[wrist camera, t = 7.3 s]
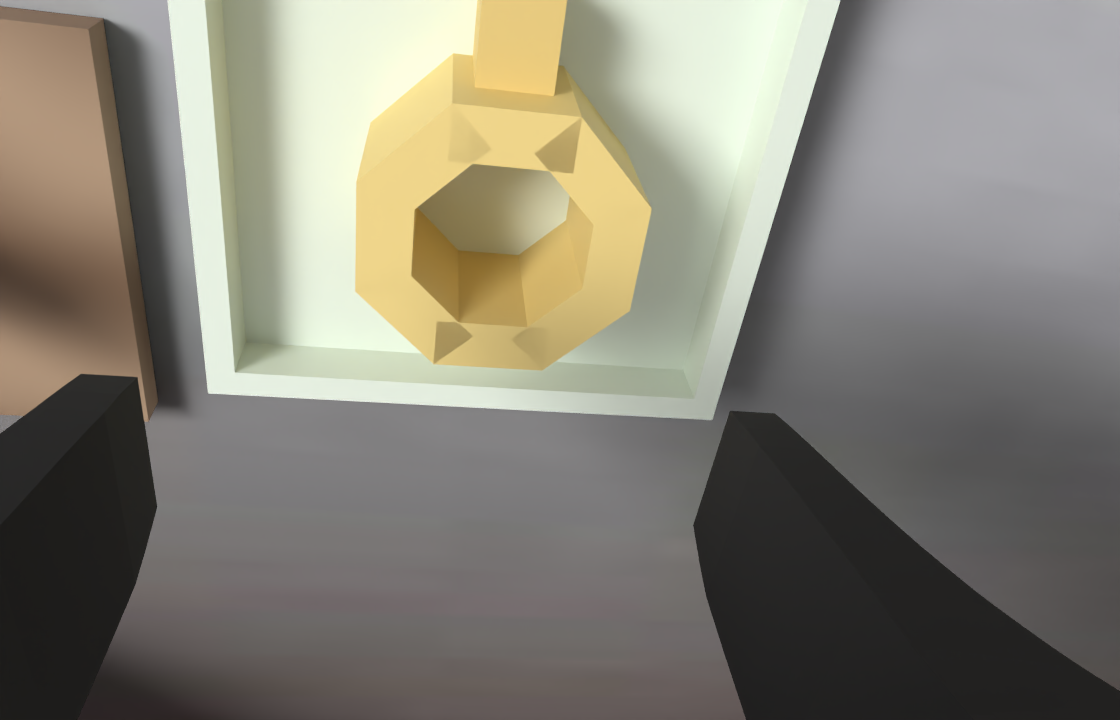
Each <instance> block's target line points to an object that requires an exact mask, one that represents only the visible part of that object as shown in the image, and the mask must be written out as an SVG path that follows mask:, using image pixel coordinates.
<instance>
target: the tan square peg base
mask: <svg viewBox="0 0 1120 720" xmlns="http://www.w3.org/2000/svg"><path fill="white" fill-rule="evenodd" d="M80 374H94V375H112V376H129V377H138V384H139V390H140V397H141V404H142V410H143V417H144V421H146V422H149V420H150V418H151V415H152V413H153V411H154V409H155V407H156V405H157V403H158V396H157V389H156V383H155V376H154V369H153V362H152V355H151V348H150V341H149V334H148V327H147V320H146V313H145V306H144V299H143V292H142V285H141V278H140V271H139V264H138V257H137V250H136V243H135V236H134V229H133V222H132V215H131V208H130V201H129V195H128V188H127V181H126V174H125V167H124V160H123V153H122V146H121V139H120V132H119V125H118V118H117V111H116V104H115V97H114V90H113V83H112V76H111V69H110V62H109V55H108V48H107V41H106V34H105V27H104V20H103V18H94V17H86V16H77V15H69V14H60V13H52V12H43V11H35V10H26V9H18V8H9V7H1V6H0V415H20V416H24V415H26V414H27V413H28V412H30V411H31V410H32V409H34V408H35V407H36V406H38V405H39V404H40V403H42V402H43V401H44V400H46V399H47V398H48V397H50V396H51V395H52V394H54V393H55V392H56V391H58V390H59V389H60V388H62V387H63V386H64V385H66V384H67V383H69V382H70V381H71V380H73V379H74V378H76V377H77V376H79V375H80Z"/></svg>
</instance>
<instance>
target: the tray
mask: <svg viewBox="0 0 1120 720" xmlns="http://www.w3.org/2000/svg"><path fill="white" fill-rule="evenodd" d="M839 4H840V0H567V5H566V13H565V20H564V27H563V35H562V42H561V49H560V56H559V64H558V66H564V67H565V69H566V70H567V71H568V73H569V74H570V75H571V77H572V78H573V79H574V81H575V82H576V83H577V85H578V86H579V87H580V89H581V90H582V91H583V93H584V94H585V95H586V97H587V98H588V99H589V101H590V102H591V103H592V105H593V106H594V107H595V109H596V110H597V112H598V113H599V114H600V116H601V117H602V118H603V120H604V121H605V122H606V124H607V125H608V126H609V128H610V129H611V130H612V132H613V133H614V134H615V136H616V137H617V138H618V140H619V141H620V142H621V144H622V145H623V146H624V148H625V149H626V151H627V154H628V156H629V158H630V160H631V163H632V165H633V167H634V169H635V172H636V174H637V176H638V179H639V181H640V183H641V185H642V188H643V190H644V192H645V194H646V197H647V199H648V201H649V203H650V206H651V208H652V210H651V215H650V220H649V224H648V229H647V234H646V238H645V243H644V247H643V252H642V257H641V261H640V266H639V271H638V275H637V280H636V284H635V289H634V294H633V298H632V303H631V308H630V311H629V312H628V313H626V314H625V315H623V316H622V317H620V318H619V319H617V320H616V321H614V322H613V323H611V324H610V325H609V326H607V327H606V328H604V329H603V330H601V331H600V332H598V333H597V334H595V335H594V336H592V337H591V338H589V339H588V340H586V341H585V342H583V343H582V344H581V345H579V346H578V347H576V348H575V349H573V350H572V351H570V352H569V353H567V354H566V355H564V356H563V357H561V358H560V359H558V360H557V361H555V362H554V363H553V364H551V365H550V366H548V367H547V368H545V369H544V370H542V371H539V370H522V369H505V368H488V367H471V366H454V365H437V364H433V363H432V362H431V361H430V360H429V359H427V358H426V357H425V356H424V355H423V354H422V353H421V352H420V351H419V350H418V349H417V348H416V347H415V346H413V345H412V344H411V343H410V342H409V341H408V340H407V339H406V338H405V337H404V336H403V335H402V334H400V333H399V332H398V331H397V330H396V329H395V328H394V327H393V326H392V325H391V324H390V323H389V322H388V321H386V320H385V319H384V318H383V317H382V316H381V315H380V314H379V313H378V312H377V311H376V310H375V309H373V308H372V307H371V306H370V305H369V304H368V303H367V302H366V301H365V300H364V299H363V298H362V297H361V296H359V295H358V294H357V293H356V292H355V259H356V181H357V176H358V172H359V168H360V164H361V160H362V156H363V151H364V147H365V143H366V139H367V135H368V131H369V127H370V122H372V121H373V120H374V119H375V118H376V117H377V116H379V115H380V114H381V113H382V112H383V111H385V110H386V109H387V108H388V107H389V106H391V105H392V104H393V103H394V102H395V101H397V100H398V99H399V98H400V97H401V96H403V95H404V94H405V93H406V92H407V91H409V90H410V89H411V88H412V87H413V86H415V85H416V84H417V83H418V82H419V81H420V80H422V79H423V78H424V77H425V76H426V75H428V74H429V73H430V72H431V71H432V70H434V69H435V68H436V67H437V66H438V65H440V64H441V63H442V62H443V61H444V60H446V59H447V58H448V57H449V56H450V55H452V54H453V53H456V54H464V55H473V46H474V34H475V22H476V10H477V0H168V9H169V18H170V28H171V38H172V48H173V57H174V67H175V77H176V86H177V96H178V106H179V116H180V125H181V135H182V145H183V154H184V164H185V174H186V184H187V193H188V203H189V213H190V222H191V232H192V242H193V252H194V261H195V271H196V281H197V290H198V300H199V310H200V320H201V329H202V339H203V349H204V358H205V368H206V378H207V388H208V393H211V394H230V395H249V396H268V397H286V398H305V399H324V400H343V401H362V402H380V403H399V404H418V405H437V406H455V407H474V408H493V409H512V410H531V411H549V412H568V413H587V414H606V415H625V416H643V417H662V418H681V419H700V420H712V419H713V416H714V413H715V410H716V406H717V403H718V400H719V396H720V393H721V390H722V387H723V383H724V380H725V377H726V373H727V370H728V367H729V364H730V360H731V357H732V354H733V351H734V347H735V344H736V341H737V337H738V334H739V331H740V328H741V324H742V321H743V318H744V315H745V311H746V308H747V305H748V301H749V298H750V295H751V292H752V288H753V285H754V282H755V279H756V275H757V272H758V269H759V265H760V262H761V259H762V256H763V252H764V249H765V246H766V243H767V239H768V236H769V233H770V229H771V226H772V223H773V220H774V216H775V213H776V210H777V207H778V203H779V200H780V197H781V193H782V190H783V187H784V184H785V180H786V177H787V174H788V171H789V167H790V164H791V161H792V157H793V154H794V151H795V148H796V144H797V141H798V138H799V135H800V131H801V128H802V125H803V121H804V118H805V115H806V112H807V108H808V105H809V102H810V99H811V95H812V92H813V89H814V85H815V82H816V79H817V76H818V72H819V69H820V66H821V62H822V59H823V56H824V53H825V49H826V46H827V43H828V40H829V36H830V33H831V30H832V26H833V23H834V20H835V17H836V13H837V10H838V7H839ZM569 197H570V196H569V194H568V193H567V192H566V191H565V189H564V188H563V187H562V186H561V185H560V183H559V182H558V181H557V180H556V179H555V177H554V176H553V175H552V174H551V172H550V171H542V170H532V169H521V168H511V167H501V166H490V165H480V164H472V165H471V166H469V167H468V168H467V169H466V170H464V171H463V172H462V173H460V174H459V175H458V176H457V177H455V178H454V179H453V180H451V181H450V182H449V183H448V184H446V185H445V186H444V187H443V188H441V189H440V190H439V191H437V192H436V193H435V194H434V195H432V196H431V197H430V198H429V199H427V200H426V201H425V202H423V203H422V204H421V205H420V206H418V207H417V208H418V209H419V210H420V211H421V212H422V213H423V214H424V215H425V216H426V217H427V218H428V219H429V220H430V221H431V222H432V223H433V224H434V225H435V226H436V227H437V229H438V230H439V231H440V232H441V233H442V234H443V235H444V236H445V237H446V238H447V239H448V240H449V241H450V242H451V243H452V244H453V245H454V246H455V247H456V248H457V249H458V250H460V251H473V252H485V253H498V254H510V255H519V254H521V253H522V252H523V251H525V250H526V249H527V248H529V247H530V246H531V245H533V244H534V243H536V242H537V241H538V240H540V239H541V238H542V237H544V236H545V235H546V234H548V233H549V232H551V231H552V230H553V229H555V228H556V227H557V226H559V225H560V224H561V223H563V222H564V221H566V216H567V210H568V204H569Z"/></svg>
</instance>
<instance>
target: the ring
mask: <svg viewBox="0 0 1120 720" xmlns="http://www.w3.org/2000/svg"><path fill="white" fill-rule="evenodd" d="M566 5H567V0H477V10H476V22H475V34H474V46H473V55H464V54H456V53H453V54H452V55H450V56H449V57H448V58H447V59H446V60H444V61H443V62H442V63H441V64H440V65H438V66H437V67H436V68H435V69H434V70H432V71H431V72H430V73H429V74H428V75H426V76H425V77H424V78H423V79H422V80H420V81H419V82H418V83H417V84H416V85H415V86H413V87H412V88H411V89H410V90H409V91H407V92H406V93H405V94H404V95H403V96H401V97H400V98H399V99H398V100H397V101H395V102H394V103H393V104H392V105H391V106H389V107H388V108H387V109H386V110H385V111H383V112H382V113H381V114H380V115H379V116H377V117H376V118H375V119H374V120H373V121H372V122H370V127H369V131H368V135H367V139H366V143H365V147H364V151H363V156H362V160H361V164H360V168H359V172H358V176H357V181H356V259H355V292H356V293H357V294H358V295H359V296H361V297H362V298H363V299H364V300H365V301H366V302H367V303H368V304H369V305H370V306H371V307H372V308H373V309H375V310H376V311H377V312H378V313H379V314H380V315H381V316H382V317H383V318H384V319H385V320H386V321H388V322H389V323H390V324H391V325H392V326H393V327H394V328H395V329H396V330H397V331H398V332H399V333H400V334H402V335H403V336H404V337H405V338H406V339H407V340H408V341H409V342H410V343H411V344H412V345H413V346H415V347H416V348H417V349H418V350H419V351H420V352H421V353H422V354H423V355H424V356H425V357H426V358H427V359H429V360H430V361H431V362H432V363H433V364H437V365H454V366H471V367H488V368H505V369H522V370H539V371H542V370H544V369H545V368H547V367H548V366H550V365H551V364H553V363H554V362H555V361H557V360H558V359H560V358H561V357H563V356H564V355H566V354H567V353H569V352H570V351H572V350H573V349H575V348H576V347H578V346H579V345H581V344H582V343H583V342H585V341H586V340H588V339H589V338H591V337H592V336H594V335H595V334H597V333H598V332H600V331H601V330H603V329H604V328H606V327H607V326H609V325H610V324H611V323H613V322H614V321H616V320H617V319H619V318H620V317H622V316H623V315H625V314H626V313H628V312H629V311H630V308H631V303H632V298H633V294H634V289H635V284H636V280H637V275H638V271H639V266H640V261H641V257H642V252H643V247H644V243H645V238H646V234H647V229H648V224H649V220H650V215H651V210H652V208H651V206H650V203H649V201H648V199H647V197H646V194H645V192H644V190H643V188H642V185H641V183H640V181H639V179H638V176H637V174H636V172H635V169H634V167H633V165H632V163H631V160H630V158H629V156H628V154H627V151H626V149H625V148H624V146H623V145H622V144H621V142H620V141H619V140H618V138H617V137H616V136H615V134H614V133H613V132H612V130H611V129H610V128H609V126H608V125H607V124H606V122H605V121H604V120H603V118H602V117H601V116H600V114H599V113H598V112H597V110H596V109H595V107H594V106H593V105H592V103H591V102H590V101H589V99H588V98H587V97H586V95H585V94H584V93H583V91H582V90H581V89H580V87H579V86H578V85H577V83H576V82H575V81H574V79H573V78H572V77H571V75H570V74H569V73H568V71H567V70H566V69H565V67H564V66H558V64H559V56H560V49H561V42H562V35H563V27H564V20H565V13H566ZM472 164H480V165H490V166H501V167H511V168H521V169H532V170H542V171H550V172H551V174H552V175H553V176H554V177H555V179H556V180H557V181H558V182H559V183H560V185H561V186H562V187H563V188H564V189H565V191H566V192H567V193H568V194H569V196H570V197H569V204H568V210H567V216H566V221H564V222H563V223H561V224H560V225H559V226H557V227H556V228H555V229H553V230H552V231H551V232H549V233H548V234H546V235H545V236H544V237H542V238H541V239H540V240H538V241H537V242H536V243H534V244H533V245H531V246H530V247H529V248H527V249H526V250H525V251H523V252H522V253H521V254H519V255H510V254H498V253H485V252H473V251H460V250H458V249H457V248H456V247H455V246H454V245H453V244H452V243H451V242H450V241H449V240H448V239H447V238H446V237H445V236H444V235H443V234H442V233H441V232H440V231H439V230H438V229H437V227H436V226H435V225H434V224H433V223H432V222H431V221H430V220H429V219H428V218H427V217H426V216H425V215H424V214H423V213H422V212H421V211H420V210H419V209H418V208H417V207H418V206H420V205H421V204H422V203H423V202H425V201H426V200H427V199H429V198H430V197H431V196H432V195H434V194H435V193H436V192H437V191H439V190H440V189H441V188H443V187H444V186H445V185H446V184H448V183H449V182H450V181H451V180H453V179H454V178H455V177H457V176H458V175H459V174H460V173H462V172H463V171H464V170H466V169H467V168H468V167H469V166H471V165H472Z"/></svg>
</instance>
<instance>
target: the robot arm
mask: <svg viewBox="0 0 1120 720" xmlns="http://www.w3.org/2000/svg"><path fill="white" fill-rule="evenodd" d="M156 509H157V503H156V497H155V490H154V483H153V477H152V470H151V464H150V457H149V450H148V444H147V437H146V430H145V424H144V417H143V410H142V404H141V397H140V390H139V384H138V377H129V376H112V375H94V374H80V375H79V376H77V377H76V378H74V379H73V380H71V381H70V382H69V383H67V384H66V385H64V386H63V387H62V388H60V389H59V390H58V391H56V392H55V393H54V394H52V395H51V396H50V397H48V398H47V399H46V400H44V401H43V402H42V403H40V404H39V405H38V406H36V407H35V408H34V409H32V410H31V411H30V412H28V413H27V414H26V415H24V416H23V417H22V418H21V419H19V420H18V421H17V422H15V423H14V424H13V425H11V426H10V427H9V428H7V429H6V430H5V431H3V432H2V433H1V434H0V720H77V719H78V717H79V714H80V712H81V710H82V708H83V705H84V703H85V701H86V698H87V696H88V694H89V691H90V689H91V687H92V685H93V682H94V680H95V678H96V675H97V673H98V671H99V668H100V666H101V664H102V662H103V659H104V657H105V655H106V652H107V650H108V648H109V645H110V643H111V641H112V638H113V636H114V634H115V631H116V629H117V627H118V624H119V622H120V620H121V617H122V615H123V613H124V610H125V608H126V606H127V603H128V601H129V598H130V596H131V594H132V591H133V589H134V586H135V584H136V580H137V577H138V574H139V570H140V567H141V564H142V560H143V557H144V553H145V550H146V546H147V543H148V539H149V535H150V531H151V528H152V524H153V520H154V516H155V513H156ZM693 526H694V532H695V538H696V544H697V550H698V556H699V562H700V567H701V572H702V577H703V582H704V587H705V592H706V597H707V600H708V603H709V606H710V610H711V613H712V616H713V619H714V622H715V626H716V629H717V632H718V635H719V638H720V641H721V644H722V647H723V651H724V654H725V657H726V660H727V663H728V666H729V669H730V672H731V675H732V678H733V681H734V684H735V687H736V690H737V693H738V696H739V699H740V702H741V705H742V708H743V711H744V714H745V717H746V720H1120V691H1119V690H1117V689H1115V688H1114V687H1112V686H1111V685H1109V684H1107V683H1106V682H1104V681H1103V680H1101V679H1100V678H1098V677H1096V676H1095V675H1093V674H1092V673H1090V672H1088V671H1087V670H1085V669H1084V668H1082V667H1081V666H1079V665H1078V664H1076V663H1075V662H1073V661H1072V660H1070V659H1069V658H1067V657H1066V656H1064V655H1063V654H1061V653H1060V652H1058V651H1057V650H1055V649H1054V648H1052V647H1051V646H1049V645H1048V644H1047V643H1045V642H1044V641H1042V640H1041V639H1040V638H1038V637H1037V636H1036V635H1034V634H1033V633H1031V632H1030V631H1029V630H1027V629H1026V628H1024V627H1023V626H1022V625H1020V624H1019V623H1018V622H1016V621H1015V620H1013V619H1012V618H1011V617H1009V616H1008V615H1006V614H1005V613H1004V612H1002V611H1001V610H1000V609H998V608H997V607H995V606H994V605H993V604H991V603H990V602H989V601H988V600H986V599H985V598H984V597H982V596H981V595H980V594H978V593H977V592H976V591H975V590H973V589H972V588H971V587H969V586H968V585H967V584H966V583H964V582H963V581H962V580H961V579H960V578H958V577H957V576H956V575H955V574H954V573H952V572H951V571H950V570H949V569H947V568H946V567H945V566H944V565H943V564H941V563H940V562H939V561H938V560H937V559H935V558H934V557H933V556H932V555H931V554H929V553H928V552H927V551H926V550H924V549H923V548H922V547H921V546H920V545H919V544H918V543H916V542H915V541H914V540H913V539H912V538H911V537H909V536H908V535H907V534H906V533H905V532H904V531H903V530H901V529H900V528H899V527H898V526H897V525H896V524H895V523H894V522H892V521H891V520H890V519H889V518H888V517H887V516H886V515H885V514H884V513H882V512H881V511H880V510H879V509H878V508H877V507H876V506H875V505H874V504H873V503H871V502H870V501H869V500H868V499H867V498H866V497H865V496H864V495H863V494H862V493H861V492H860V491H859V490H857V489H856V488H855V487H854V486H853V485H852V484H851V483H850V482H849V481H848V480H847V479H846V478H845V477H844V476H842V475H841V474H840V473H839V472H838V471H837V470H836V469H835V468H834V467H833V466H832V465H831V464H830V463H829V462H828V461H827V460H826V459H824V458H823V457H822V456H821V455H820V454H819V453H818V452H817V451H816V450H815V449H814V448H813V447H812V446H811V445H810V444H808V443H807V442H806V441H805V440H804V439H803V438H802V437H801V436H800V435H799V434H798V433H797V432H795V431H794V430H793V429H792V428H791V427H790V426H789V425H788V424H787V423H785V422H784V421H783V420H782V419H781V418H779V417H778V416H777V415H776V414H773V413H756V412H738V411H730V413H729V416H728V419H727V422H726V425H725V429H724V432H723V435H722V438H721V441H720V444H719V447H718V450H717V453H716V457H715V460H714V463H713V466H712V469H711V472H710V475H709V478H708V481H707V485H706V488H705V491H704V494H703V497H702V500H701V503H700V506H699V509H698V513H697V516H696V519H695V522H694V525H693Z"/></svg>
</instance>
